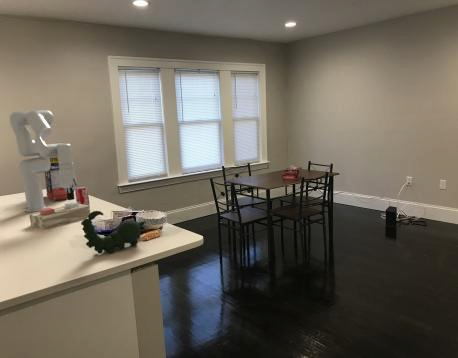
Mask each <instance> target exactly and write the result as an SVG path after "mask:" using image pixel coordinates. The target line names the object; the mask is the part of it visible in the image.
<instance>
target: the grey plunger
mask: <svg viewBox="0 0 458 358" xmlns="http://www.w3.org/2000/svg"><path fill="white" fill-rule="evenodd" d="M64 206H65V208H69V209H71V208H75V207H79V204H78V203H77V201H71V202H66V203H64Z"/></svg>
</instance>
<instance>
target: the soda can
mask: <svg viewBox="0 0 458 358" xmlns="http://www.w3.org/2000/svg"><path fill="white" fill-rule="evenodd" d="M74 195H75V202H77V203H78V204H83V205H89V207H90V206H91V204H90V197H89V189H88V188H87V186H76V189H75V190H74Z"/></svg>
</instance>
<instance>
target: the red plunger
mask: <svg viewBox="0 0 458 358" xmlns="http://www.w3.org/2000/svg"><path fill="white" fill-rule="evenodd" d="M39 212H40V214H41V215H48V214H52V213H55V211H54V209H53V208H51V207H48V208H47V209H43V210H40V211H39Z"/></svg>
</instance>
